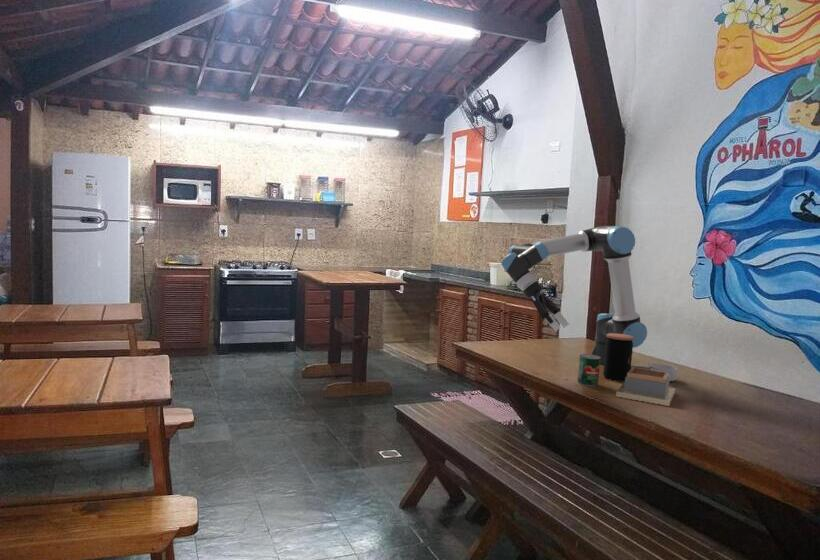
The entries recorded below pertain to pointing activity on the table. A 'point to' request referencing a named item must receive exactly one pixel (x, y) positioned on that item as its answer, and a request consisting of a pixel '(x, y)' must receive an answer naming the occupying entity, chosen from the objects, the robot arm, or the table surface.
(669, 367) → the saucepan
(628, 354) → the coffee jar
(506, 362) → the table surface
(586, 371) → the canned tomato
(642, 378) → the grey rectangular box
